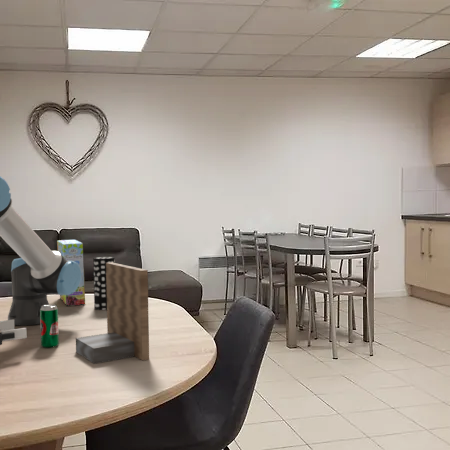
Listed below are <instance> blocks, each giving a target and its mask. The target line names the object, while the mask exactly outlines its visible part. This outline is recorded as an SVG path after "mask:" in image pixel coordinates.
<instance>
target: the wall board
mask: <svg viewBox="0 0 450 450" xmlns="http://www.w3.org/2000/svg"><path fill="white" fill-rule="evenodd" d="M148 271H149V270H148V269H144V268H141V267H135V266H130V265H125V264H121V263H116V262H115V263H113V262H111V263H106V286H107V310H106V319H107V320H106V322H107V333H99V334H94V335H86V336H81V337H75V353H77V354H78V355H79V356H82V357H83V358H85V359H87V360H88V361H89V362H91V363H92V364H99V363H105V362H111V361H115V360H116V361H117V360H121V359H126V358H133V356H134V357H135V358H137V359H138V360H141V361H148V360H150V333H149V331H150V330H149V329H150V328H149V325H150V324H149V322H150V321H149V276H148V275H149V274H148Z"/></svg>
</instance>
